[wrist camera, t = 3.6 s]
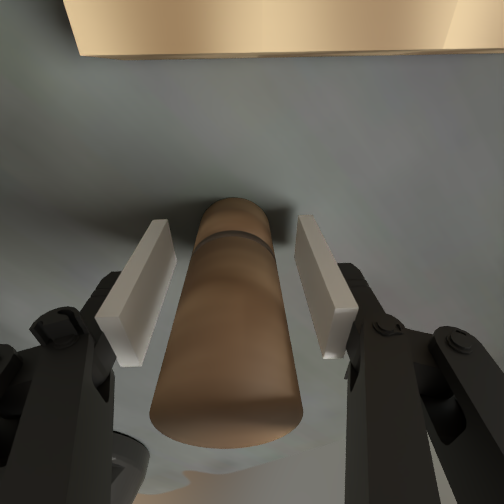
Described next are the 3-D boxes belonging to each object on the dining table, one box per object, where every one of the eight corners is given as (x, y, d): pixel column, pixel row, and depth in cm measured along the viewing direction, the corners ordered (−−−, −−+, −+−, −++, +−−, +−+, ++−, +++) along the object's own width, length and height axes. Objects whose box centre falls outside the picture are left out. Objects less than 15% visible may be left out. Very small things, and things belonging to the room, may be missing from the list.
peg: (204, 258, 16) (166, 451, 8) (195, 198, 14) (129, 381, 6) (268, 256, 16) (296, 445, 8) (270, 196, 14) (311, 374, 6)
